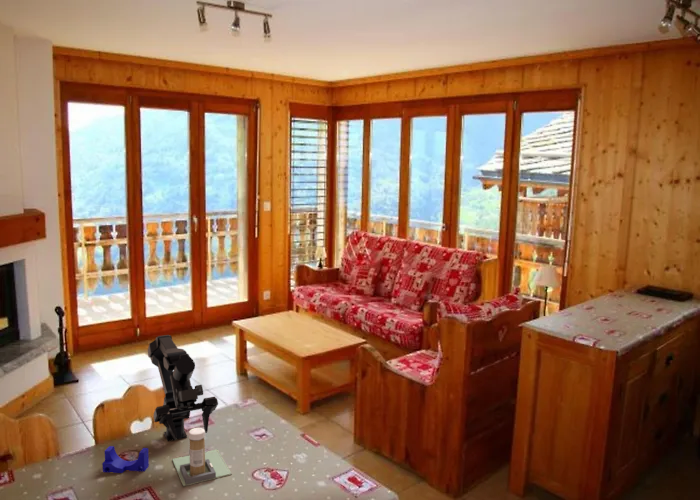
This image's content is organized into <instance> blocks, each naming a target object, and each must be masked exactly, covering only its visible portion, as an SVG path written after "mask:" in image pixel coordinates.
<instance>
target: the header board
mask: <svg viewBox="0 0 700 500" xmlns="http://www.w3.org/2000/svg"><path fill="white" fill-rule="evenodd" d="M172 462H173V466H174V468H175V470H176V473H177V475H178V477H179V479H180V481H181V484H182V486H183V487H186V486H191V485H193V484H197V483H202V482H206V481H210V480H215V479H219V478H220V479H221V478H223V477H228V476H231V475H232V472H231V470H230V468H229V467H228V465H227V463H226V461H225V460H224V458H223V456H222V455H221V453H220V452H219V450H218V449H214V450H213V449H212V450H208V451H205V471H206V472H205V473H203V474H199V475H195V476H191V475H190V454H189V455H184V456H180V457H176V458H172Z"/></svg>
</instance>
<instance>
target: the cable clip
mask: <svg viewBox="0 0 700 500" xmlns="http://www.w3.org/2000/svg"><path fill="white" fill-rule="evenodd" d="M149 462H150V461H149V447H143V448H142V449H141V450H140V451H139V453H138V456H137V459H134V460H125V459H123V458H121V457H120V456H119V454H117V452H116V449H115V446H113V445H109V446H108V447H107V448H106V449H105V450H104V461H103V462H102V473H110V472H113V473H114V474H123V473H125V472H126V470H129V471H128V472H132V471H133V472H145V471H146V470H148V468H149V466H150V463H149ZM113 473H112V474H113Z"/></svg>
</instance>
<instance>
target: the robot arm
mask: <svg viewBox="0 0 700 500" xmlns="http://www.w3.org/2000/svg"><path fill="white" fill-rule="evenodd" d="M147 355H148V358H150V361H151V364H153V365H154V366H156V367H157V369H158V372H159V375H160V380H161V384H162V388H163V392H164V398H163V405H161V406H156V408H155V409H154V413H153V422H155V423H158V424H160V425H161V424H163V426H164V427H165V428H166V431H164V432H163V434H164V437H165V439H166V441H167V442H171V441H176V440H180V439H186V438H188V435H187V433H186V431H185V419H190V417H191V412H193V411H198V410H201V411H202V413H201V417H202V422H203V423H202V424H203V429H204V430H205V434H207V433H208V430H209V421H210V415H211V414H212V413H213V412H214V411H216V410H217V407H218V405H219V401H218V398H217V397H216V396H211V397H205V398H203V400H202V402H197V401H198V399H199V396H203V395H204V389H203V384H198V385H195V386H194V388H193V386H192V383H191V378H192V376H193V374H194V372H195V368H196V363H195V361H194V359H193V358H192V357H191V356H190V354H189V353H187V351H186V350H185V349H183V348H178V346H177V345H176V343H175V342H174V340H173V338H172V335H169V334H165V335H158V336H156V337H155V339H154V340H153V341H151V342H150V343H149V344H148V347H147ZM196 402H197V403H196Z"/></svg>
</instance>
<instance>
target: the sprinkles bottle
mask: <svg viewBox="0 0 700 500" xmlns="http://www.w3.org/2000/svg"><path fill="white" fill-rule="evenodd" d="M188 439H189V455H190V475H191V476H195V475H199V474H203V473H205V472H206V471H205V452H206V450H205V449H206V447H205V446H206V445H205V444H206V443H205V439H206V433H205V430H204V427H203V428H202V427H195V428H192V429H190V430H189V431H188Z"/></svg>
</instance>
